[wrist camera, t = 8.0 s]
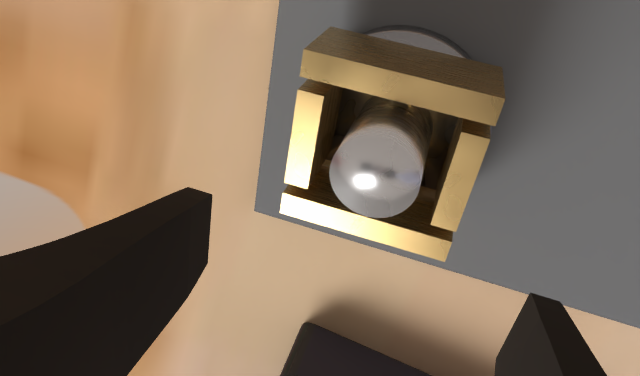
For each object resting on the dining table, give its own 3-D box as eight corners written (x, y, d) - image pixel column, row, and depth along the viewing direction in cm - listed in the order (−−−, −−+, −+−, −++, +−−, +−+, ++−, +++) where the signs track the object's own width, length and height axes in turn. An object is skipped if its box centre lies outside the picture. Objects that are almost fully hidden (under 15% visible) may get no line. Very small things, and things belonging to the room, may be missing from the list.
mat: (915, 31, 14) (928, 35, 14) (683, 333, 21) (687, 342, 20) (295, -98, 17) (291, -98, 16) (258, 205, 23) (254, 210, 23)
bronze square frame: (502, 67, 16) (505, 98, 14) (450, 213, 19) (444, 261, 17) (330, 26, 17) (303, 48, 14) (305, 172, 20) (279, 213, 17)
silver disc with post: (519, 50, 17) (530, 102, 13) (459, 212, 20) (451, 296, 16) (330, 5, 18) (281, 40, 13) (302, 167, 21) (256, 235, 17)
